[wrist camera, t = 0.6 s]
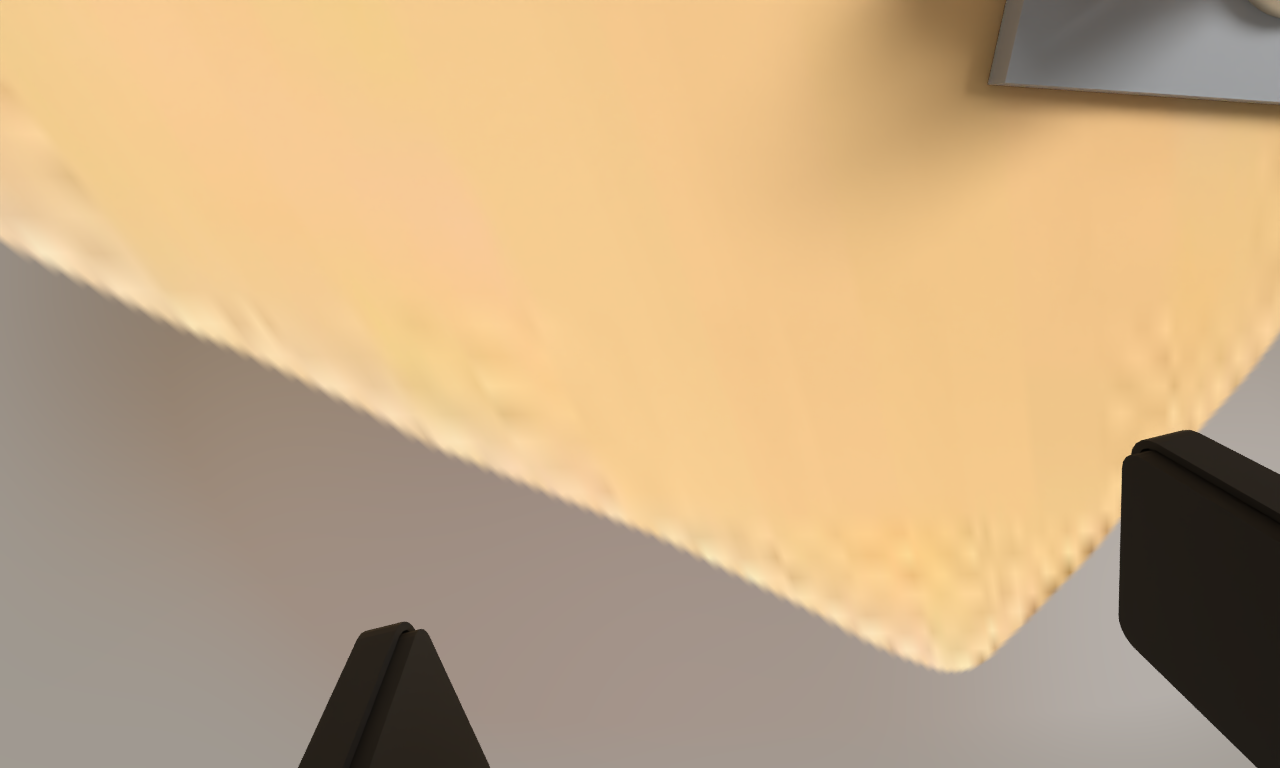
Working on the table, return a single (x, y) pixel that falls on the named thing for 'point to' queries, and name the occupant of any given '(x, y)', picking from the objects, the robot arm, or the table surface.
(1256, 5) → the bobbin
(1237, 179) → the table surface
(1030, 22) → the grey board with ledge
